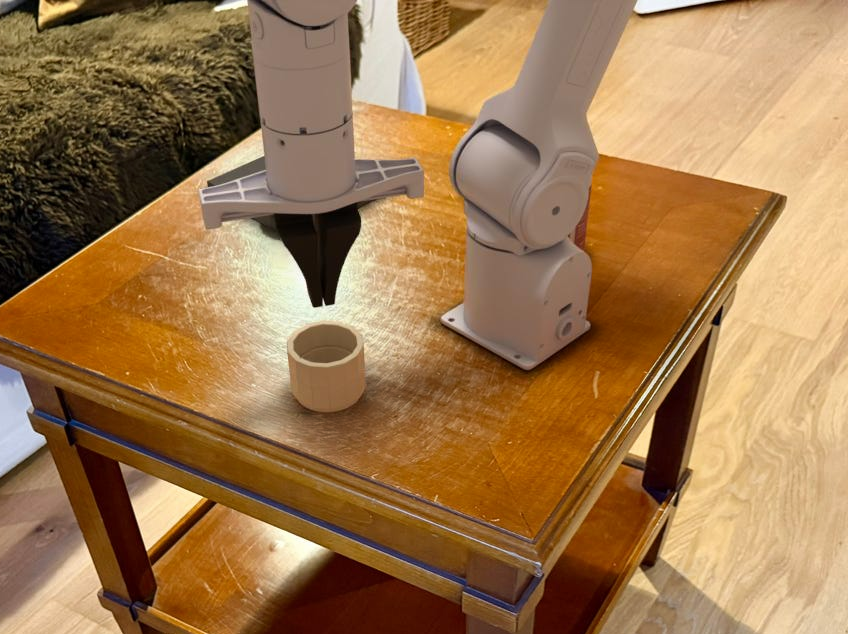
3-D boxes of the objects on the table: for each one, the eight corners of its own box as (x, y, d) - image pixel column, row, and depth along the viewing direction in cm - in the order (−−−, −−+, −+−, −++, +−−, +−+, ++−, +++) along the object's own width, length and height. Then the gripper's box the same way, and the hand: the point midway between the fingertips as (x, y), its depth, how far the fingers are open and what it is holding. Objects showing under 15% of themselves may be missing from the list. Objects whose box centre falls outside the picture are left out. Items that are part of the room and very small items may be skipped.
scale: (389, 195, 99) (389, 167, 97) (288, 247, 93) (285, 218, 91) (300, 152, 106) (297, 125, 104) (200, 197, 100) (196, 169, 98)
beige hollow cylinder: (381, 389, 77) (379, 342, 74) (325, 425, 74) (321, 377, 71) (332, 358, 80) (328, 311, 77) (276, 391, 77) (270, 344, 74)
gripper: (403, 74, 66) (406, 253, 76) (182, 103, 64) (212, 284, 73) (433, 119, 61) (432, 305, 70) (194, 153, 59) (224, 340, 68)
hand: (321, 298), depth 72 cm, fingers closed
